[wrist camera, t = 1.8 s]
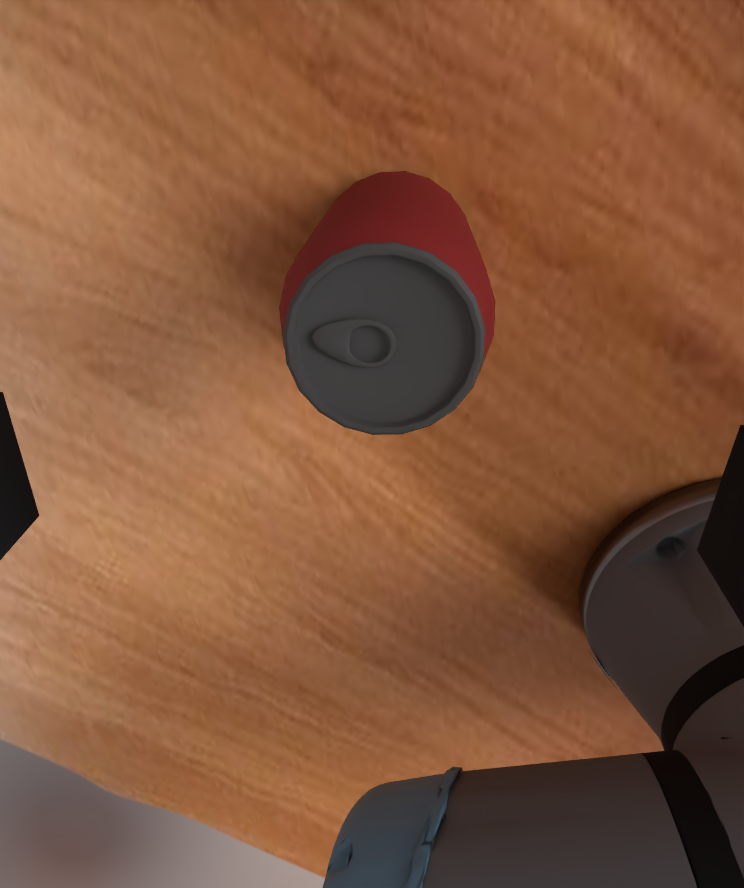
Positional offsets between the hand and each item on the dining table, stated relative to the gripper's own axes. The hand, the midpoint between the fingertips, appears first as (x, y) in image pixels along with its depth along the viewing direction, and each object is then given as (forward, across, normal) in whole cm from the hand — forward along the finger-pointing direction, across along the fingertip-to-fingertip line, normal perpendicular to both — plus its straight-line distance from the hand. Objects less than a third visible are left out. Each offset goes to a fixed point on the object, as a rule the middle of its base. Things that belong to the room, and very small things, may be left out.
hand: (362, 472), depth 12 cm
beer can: (+19, 0, 0) cm, 19 cm away
